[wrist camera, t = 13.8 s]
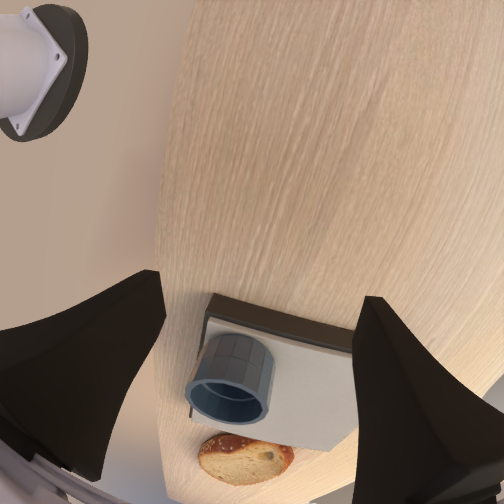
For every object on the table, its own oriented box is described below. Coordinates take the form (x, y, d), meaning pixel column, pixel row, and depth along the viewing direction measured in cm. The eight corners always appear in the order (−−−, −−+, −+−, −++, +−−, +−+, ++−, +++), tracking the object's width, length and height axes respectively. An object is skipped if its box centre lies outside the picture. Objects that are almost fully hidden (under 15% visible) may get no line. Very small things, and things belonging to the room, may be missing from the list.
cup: (189, 342, 22) (168, 386, 18) (250, 320, 20) (236, 371, 16) (230, 385, 23) (217, 428, 20) (289, 370, 21) (283, 418, 17)
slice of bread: (221, 474, 43) (217, 490, 40) (164, 429, 36) (156, 449, 33) (317, 473, 37) (315, 492, 34) (281, 427, 31) (277, 454, 27)
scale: (212, 291, 23) (200, 314, 20) (409, 343, 22) (416, 367, 19) (193, 402, 31) (185, 421, 28) (331, 434, 30) (330, 453, 28)
